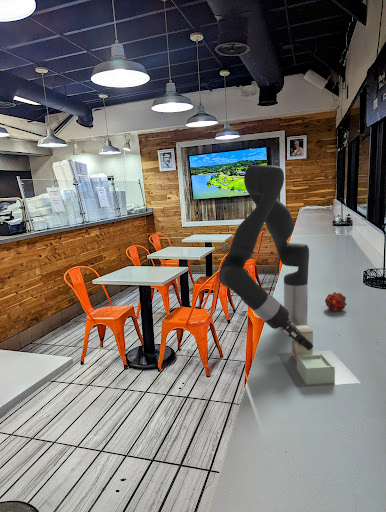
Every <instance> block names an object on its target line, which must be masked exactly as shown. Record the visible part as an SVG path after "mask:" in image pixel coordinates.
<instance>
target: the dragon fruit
mask: <svg viewBox="0 0 386 512" xmlns="http://www.w3.org/2000/svg"><path fill="white" fill-rule="evenodd" d="M346 300H347V298H346V296H345V295H343V294H342V293H341V292H336V291H335V292H332V293H329V294H328V295H327V296H326V298H325V300H324V303H325V306H326V307H327V308H328V309H329V311H330V312H337V311H338V312H341V311H342V310H344V309H345V308H346V306H347V305H348V303H346Z"/></svg>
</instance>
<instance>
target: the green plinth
mask: <svg viewBox="0 0 386 512" xmlns="http://www.w3.org/2000/svg"><path fill="white" fill-rule="evenodd" d="M334 368H335V367H334V366H333V364H332V363H331V362H330V361H329V360H328V359H327V357H326V356H325V355H324V354H321V355H320V354H310V355H301V356H300V355H297V371H298V372H299V374H300V376H301V377H302V379H303V380H304V382H305V383H306V385H307V384H322V383H335V369H334Z"/></svg>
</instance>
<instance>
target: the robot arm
mask: <svg viewBox="0 0 386 512" xmlns="http://www.w3.org/2000/svg"><path fill="white" fill-rule="evenodd" d="M243 182H244V183H243V184H244V186H245V189H246V192H247V193H248V196H249V197H250V198H251V199H252V201H253V203H255V208H254V209H253V210H252V211H251V213H249V215H248V216H247V217H245V219H244V220H243V221H242V222H241V223H240V224H239V225H238V227H237V228H236V231H235V233H234V235H233V239H232V241H231V244H230V248H229V250H228V252H227V255H226V256H225V258H224V260H223V262H222V264H221V266H220V269H219V273H218V279H219V282H220V283H221V284H222V285H223V286H224V287H226V288H229V289H230V290H231V291H233V292H234V293H235V294H236V295H237V296H238V297H240V299H241V301H243V303H244V304H245V305H247V307H248V308H249V309H251V310H252V311H253V312H254V314H256V316H257V317H259V318H260V320H262V321H263V322H265V323H266V324H267V325H268V326H269V327H270V328H271V329H273V330H277V329H281V331H282V332H283V333H285V334H287V335H288V337H290V338H291V340H292V339H294V340H295V341H296V342H297V343H299V345H303V346H304V347H305V348H306V349H307V350H310V349H312V348H313V349H314V344H313V345H312V344H311V343H310V342H309V341H308V340H307V339H306V338H305V336H303V335H302V334H301V331H300V330H299V329H298V328H297V327H296V326H301V325H308V297H309V296H308V295H309V294H308V292H309V291H308V289H309V287H308V286H309V285H308V283H309V282H308V279H309V261H310V260H309V259H310V248H309V246H308V244H307V243H293V242H291V243H290V242H288V240H289V238H290V237H291V236H292V234H293V233H294V232H293V231H294V229H295V222H294V220H293V219H294V218H293V217H292V214H291V211H290V210H289V208H288V207H286V205H284V203H282V202H281V200H279V199H278V198H279V195H280V194H281V192H282V188H283V187H284V182H285V173H284V171H283V169H282V168H281V167H280V166H278V165H277V166H276V165H268V164H252V165H250V166H248V167H247V169H245V171H244V175H243ZM264 224H265V226H266V228H267V231H268V232H269V234H270V236H271V239H272V241H273V243H274V247H275V249H276V252H277V256H278V258H279V260H280V263H281V264H282V265H284V266H286V267H296V268H297V270H296V271H294V272H291V273H287V274H285V275H284V276H283V304H282V303H281V302H279V301H278V300H277V299H276V298H275V297H274V296H273V295H271V294H269V292H267V291H266V290H265V289H263V288H262V286H260V285H259V284H257V282H256V281H255V279H253V278H252V276H251V275H250V274H249V273H248V272H247V271H246V270H245V269H244V267H245V264H246V263H247V261H249V260H251V258H252V255H253V254H254V249H255V247H256V246H257V245H256V244H257V241H258V239H259V236H260V234H261V231H262V229H263V226H264Z"/></svg>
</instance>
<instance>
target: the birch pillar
mask: <svg viewBox="0 0 386 512" xmlns="http://www.w3.org/2000/svg"><path fill="white" fill-rule="evenodd" d="M296 327H297V328H298V329H299V330H300V331H301V334H302V335H303V336H305V338H306V339H307V340H308V341H309V342H310V343H311V344H312V345H313V346H314V344H313V343H314V331H313V330H312V328H311V327H309V325H308V324H307V325H301V326H296ZM313 349H314V347H313V348H312V349H310V350H307V349H306V348H305V347H304V346H303V345H299V343H297V342H296V341H295V340H294V339H292V338H291V353H292V356H293V357H294V359H295V360H296V362H297V355H300V356H301V355H310V354H313Z"/></svg>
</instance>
